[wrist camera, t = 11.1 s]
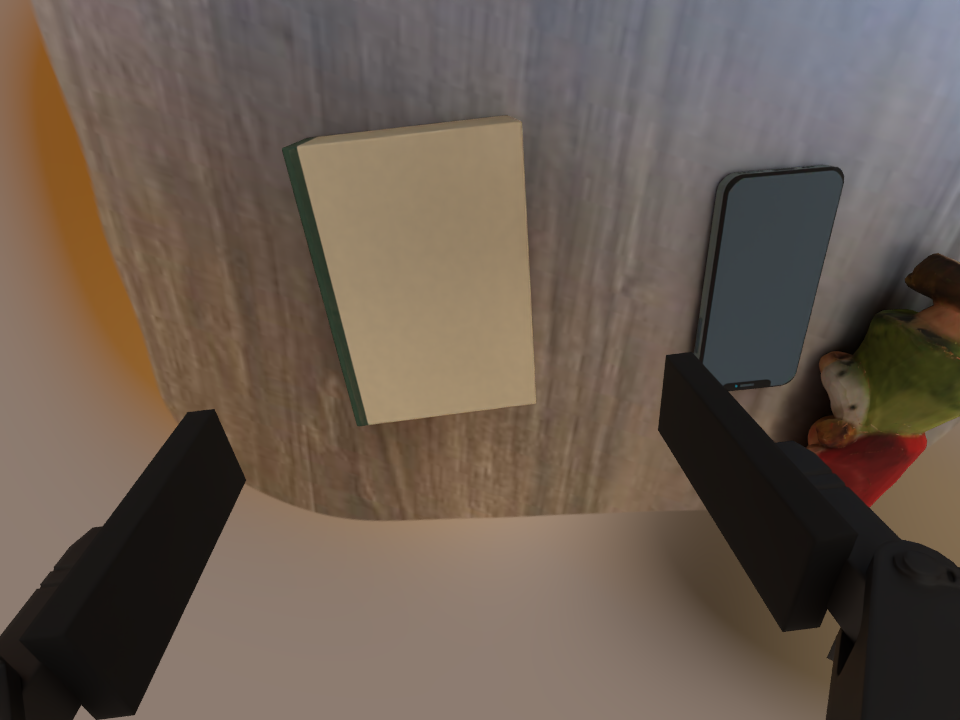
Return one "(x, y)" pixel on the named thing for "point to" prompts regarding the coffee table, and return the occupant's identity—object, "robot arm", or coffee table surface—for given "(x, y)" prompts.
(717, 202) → the smartphone
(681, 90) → the coffee table surface
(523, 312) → the book
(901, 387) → the figurine
